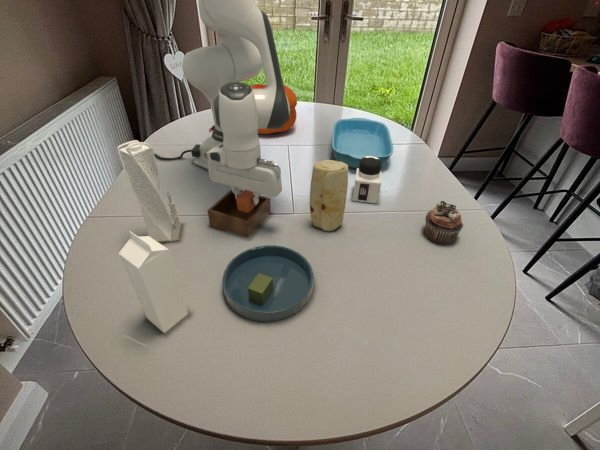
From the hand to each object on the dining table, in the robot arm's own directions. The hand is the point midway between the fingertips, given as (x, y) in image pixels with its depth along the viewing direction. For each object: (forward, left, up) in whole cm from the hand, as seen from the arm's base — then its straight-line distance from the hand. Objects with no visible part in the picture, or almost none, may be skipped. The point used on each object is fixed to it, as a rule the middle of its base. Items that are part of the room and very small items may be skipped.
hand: (247, 201), depth 90 cm
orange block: (0, 0, -2) cm, 2 cm away
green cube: (+16, -22, -7) cm, 28 cm away
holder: (-3, 0, -7) cm, 8 cm away
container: (+26, +28, -8) cm, 39 cm away
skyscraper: (-18, -15, -8) cm, 24 cm away
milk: (+1, -35, -8) cm, 36 cm away
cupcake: (+50, +18, -8) cm, 54 cm away
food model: (+20, +8, -8) cm, 23 cm away
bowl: (+16, -18, -7) cm, 26 cm away
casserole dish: (+16, +58, -8) cm, 60 cm away
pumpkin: (-26, +62, -8) cm, 68 cm away
